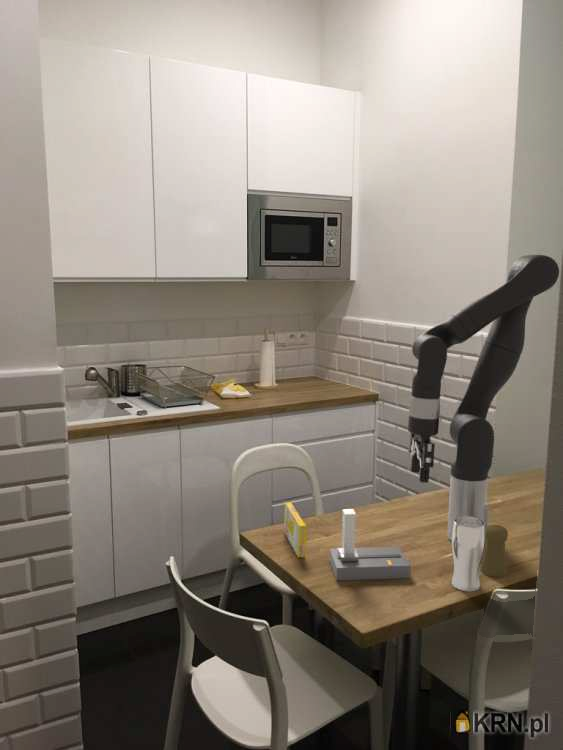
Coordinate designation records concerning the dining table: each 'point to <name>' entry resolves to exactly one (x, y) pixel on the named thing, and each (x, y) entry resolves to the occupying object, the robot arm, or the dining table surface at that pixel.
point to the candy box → (295, 530)
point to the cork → (494, 552)
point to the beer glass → (467, 552)
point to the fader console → (371, 564)
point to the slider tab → (348, 536)
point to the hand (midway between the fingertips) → (419, 476)
